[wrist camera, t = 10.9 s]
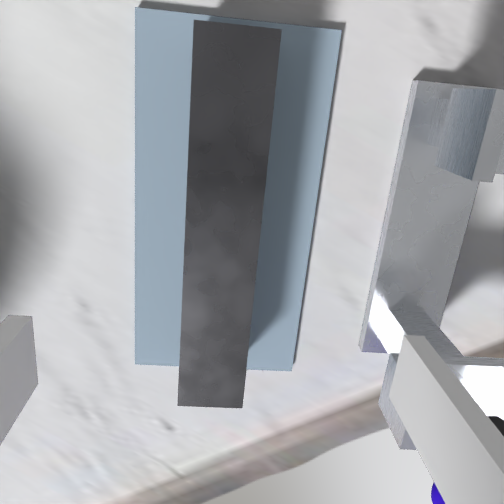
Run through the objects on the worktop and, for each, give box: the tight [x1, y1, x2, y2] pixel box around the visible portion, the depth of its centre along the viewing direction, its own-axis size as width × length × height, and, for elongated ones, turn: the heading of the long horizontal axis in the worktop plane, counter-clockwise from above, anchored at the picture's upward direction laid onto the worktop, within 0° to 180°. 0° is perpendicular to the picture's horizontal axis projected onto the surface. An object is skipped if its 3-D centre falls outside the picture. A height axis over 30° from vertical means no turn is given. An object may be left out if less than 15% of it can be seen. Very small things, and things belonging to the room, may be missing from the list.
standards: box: [359, 80, 504, 450], centre depth 29 cm, size 8×21×12 cm, turn 175°
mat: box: [135, 7, 342, 371], centre depth 33 cm, size 13×26×1 cm, turn 175°
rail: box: [178, 20, 282, 408], centre depth 30 cm, size 24×4×6 cm, turn 175°
